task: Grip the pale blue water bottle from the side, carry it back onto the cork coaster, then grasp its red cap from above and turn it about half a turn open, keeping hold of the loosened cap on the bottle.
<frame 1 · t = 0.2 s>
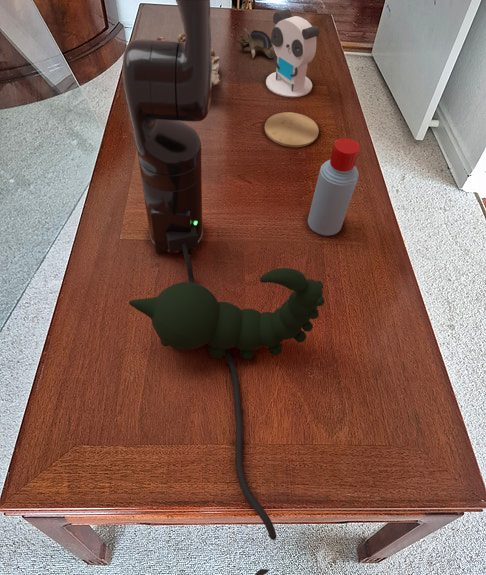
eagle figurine: (255, 55, 121), on the table
bottle cap: (346, 147, 72), point 17 cm above the table, screwed on, not yet turned
toy figurine: (221, 341, 70), on the table
bottle: (324, 223, 86), on the table
coaster: (291, 130, 102), on the table
panda figurine: (287, 84, 113), on the table
mineral formation: (189, 82, 111), on the table
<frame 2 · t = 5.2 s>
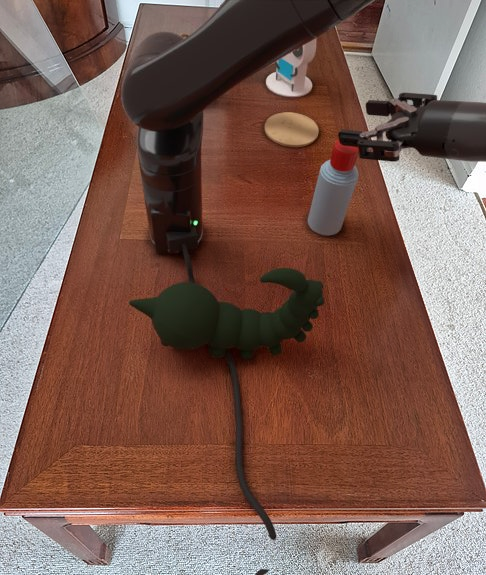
hand: (353, 121, 72), 19 cm above the table, tool tilted 70°, fingers open, 8 cm apart
nothing on the table moved.
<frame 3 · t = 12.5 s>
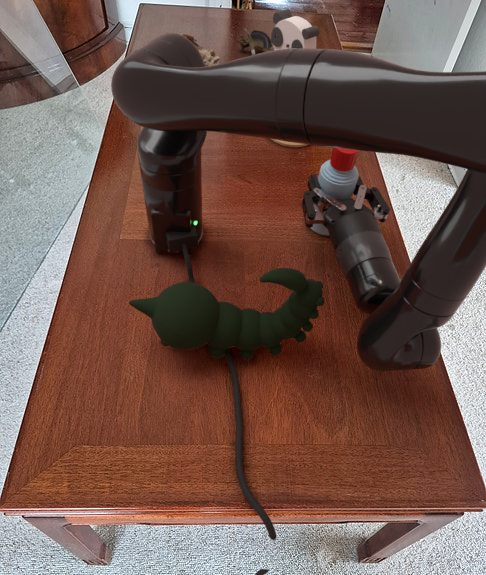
hand: (331, 176, 80), 9 cm above the table, tool horizontal, fingers closed on bottle, 6 cm apart
bottle: (324, 222, 86), on the table, touching gripper
everything else where it was.
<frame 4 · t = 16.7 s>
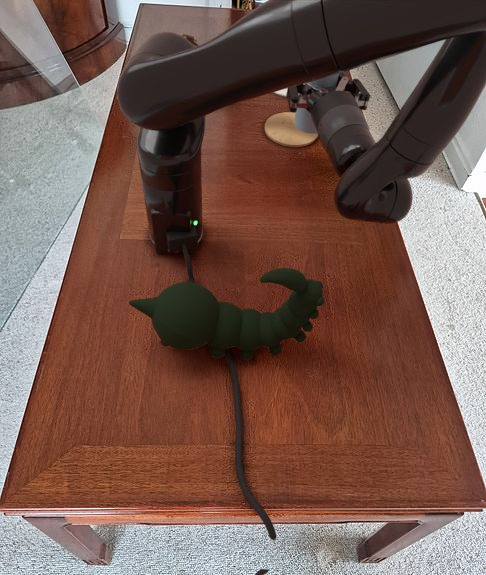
hand: (316, 72, 83), 18 cm above the table, tool horizontal, fingers closed on bottle, 6 cm apart
bottle cap: (328, 34, 76), point 25 cm above the table, screwed on, not yet turned
bottle: (310, 124, 89), point 9 cm above the table, touching gripper
everything else where it was.
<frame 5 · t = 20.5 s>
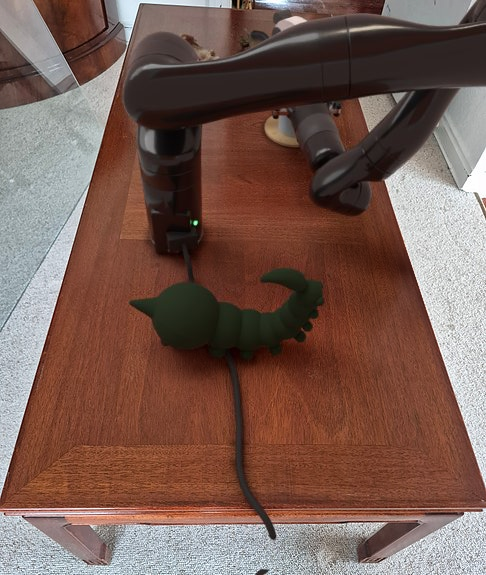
hand: (296, 83, 96), 10 cm above the table, tool horizontal, fingers closed on bottle, 6 cm apart
bottle cap: (305, 51, 88), point 17 cm above the table, screwed on, not yet turned
bottle: (292, 128, 101), point 1 cm above the table, touching coaster, gripper
everything else where it was.
when the fingers open (10 cm above the table, at t = 20.7 s): bottle stays where it is, resting on coaster.
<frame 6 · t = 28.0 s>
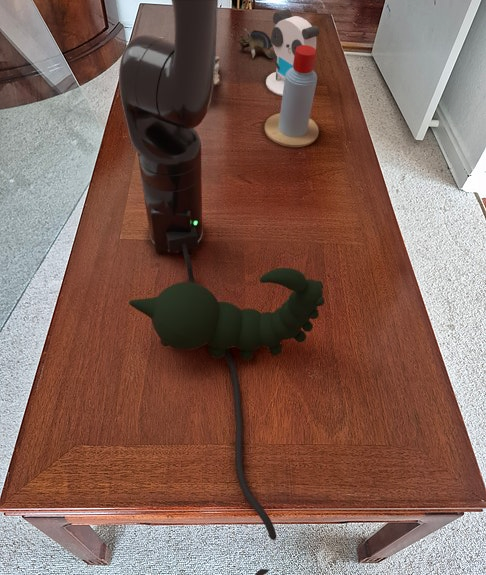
bottle: (292, 128, 101), point 1 cm above the table, touching coaster
everything else where it was.
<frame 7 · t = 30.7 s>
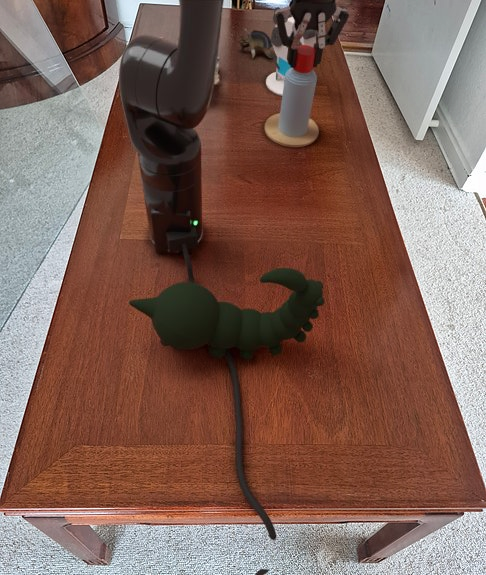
hand: (303, 65, 90), 15 cm above the table, tool pointing down, fingers closed on bottle cap, 3 cm apart
bottle cap: (305, 52, 88), point 17 cm above the table, screwed on, not yet turned, touching gripper
everything else where it was.
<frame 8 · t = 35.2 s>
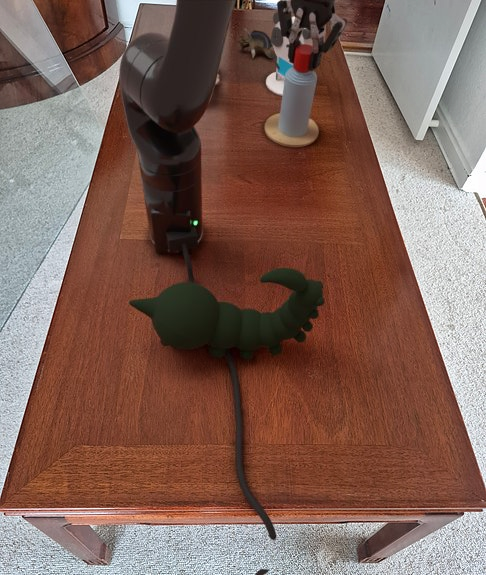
hand: (302, 64, 90), 15 cm above the table, tool pointing down, fingers closed on bottle cap, 4 cm apart
bottle cap: (305, 51, 88), point 18 cm above the table, turned 135° so far, risen 0.1 cm, still on its thread, touching gripper
everything else where it was.
at the end: bottle 0.2 cm off-centre on the coaster, point 0.6 cm above the coaster's base; bottle cap turned 0.38 turns (still on its thread); bottle cap is still on its thread (0.38 turns) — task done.
